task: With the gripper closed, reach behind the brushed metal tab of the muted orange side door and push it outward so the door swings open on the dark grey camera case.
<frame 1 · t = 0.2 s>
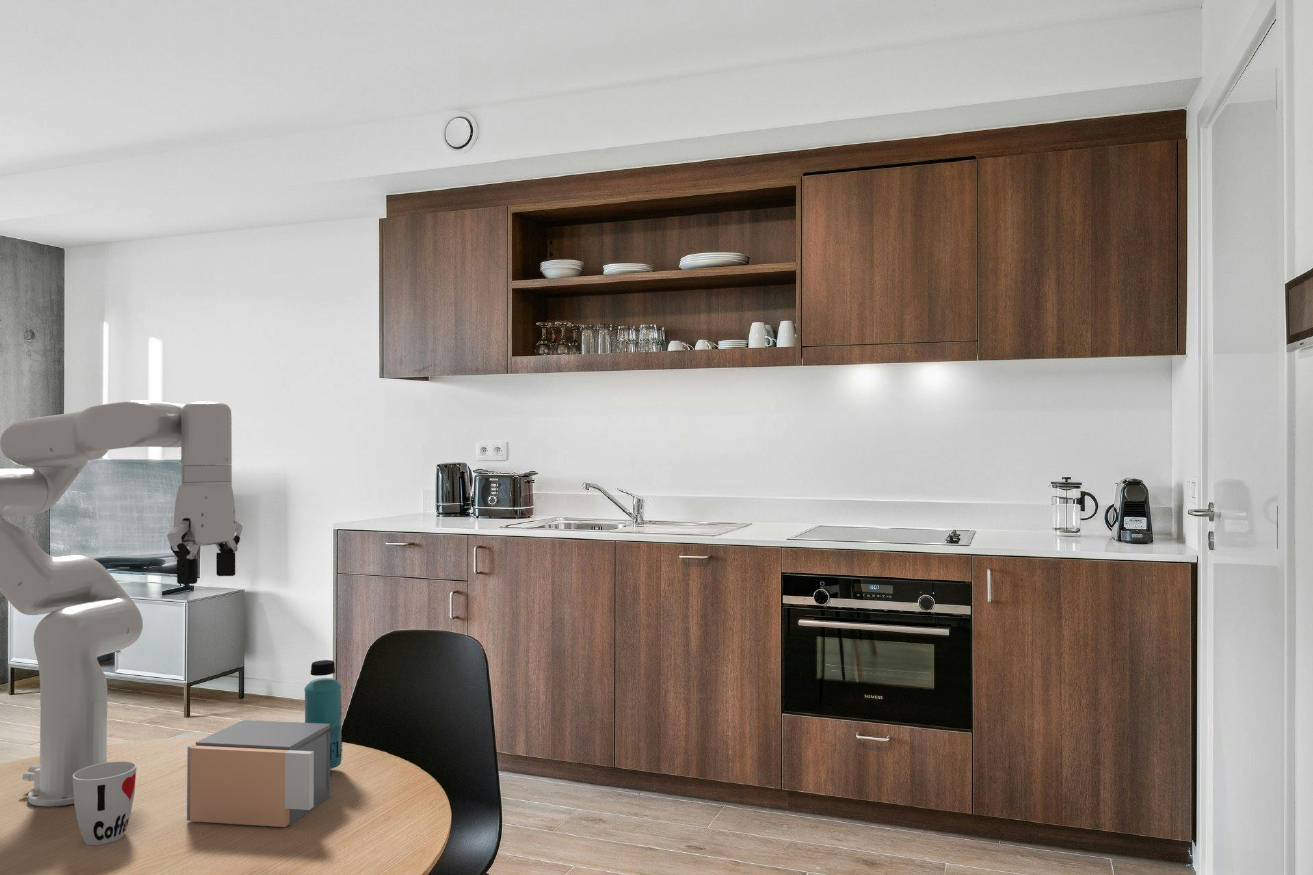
hand: (207, 579, 146), 36 cm above the table, tool pointing down, fingers open, 9 cm apart
camera case: (264, 807, 143), on the table
door: (249, 786, 136), point 6 cm above the table, hinge at 0.0°
beverage bottle: (322, 774, 158), on the table
cup: (104, 838, 132), on the table
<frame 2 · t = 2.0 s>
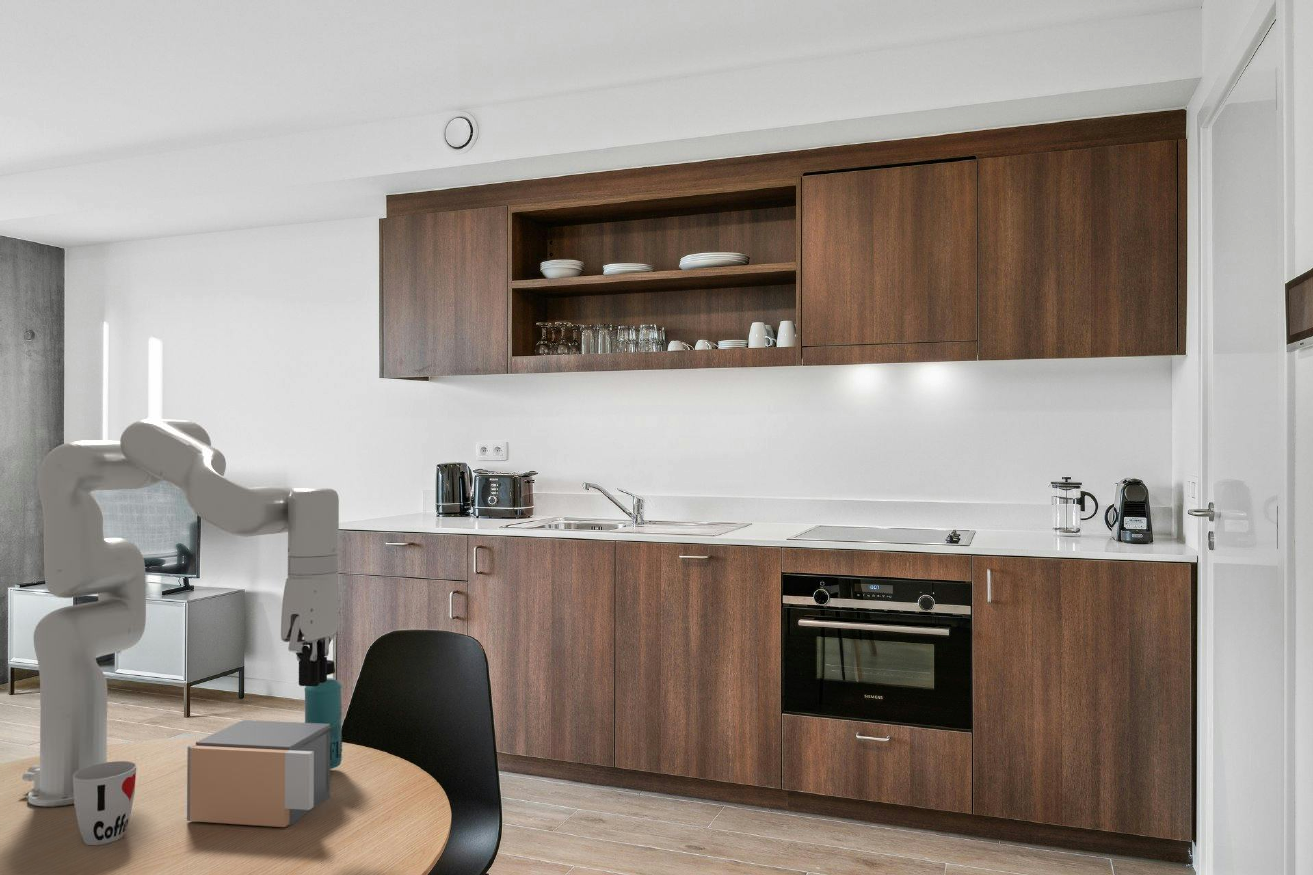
hand: (312, 683, 139), 21 cm above the table, tool pointing down, fingers closed
nothing on the table moved.
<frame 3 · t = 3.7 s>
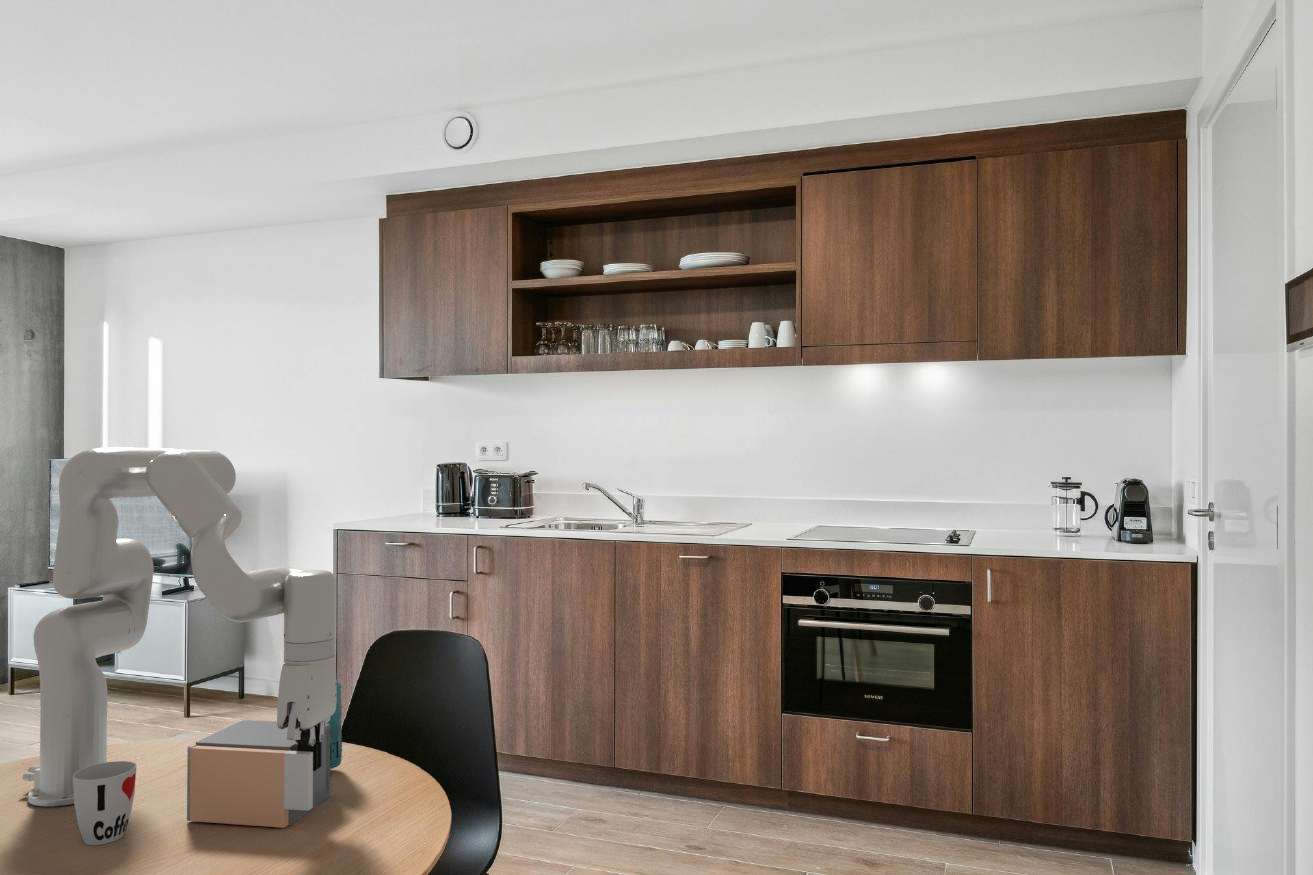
hand: (309, 768, 137), 8 cm above the table, tool pointing down, fingers closed
door: (248, 786, 136), point 6 cm above the table, hinge at 0.7°, touching gripper
everything else where it was.
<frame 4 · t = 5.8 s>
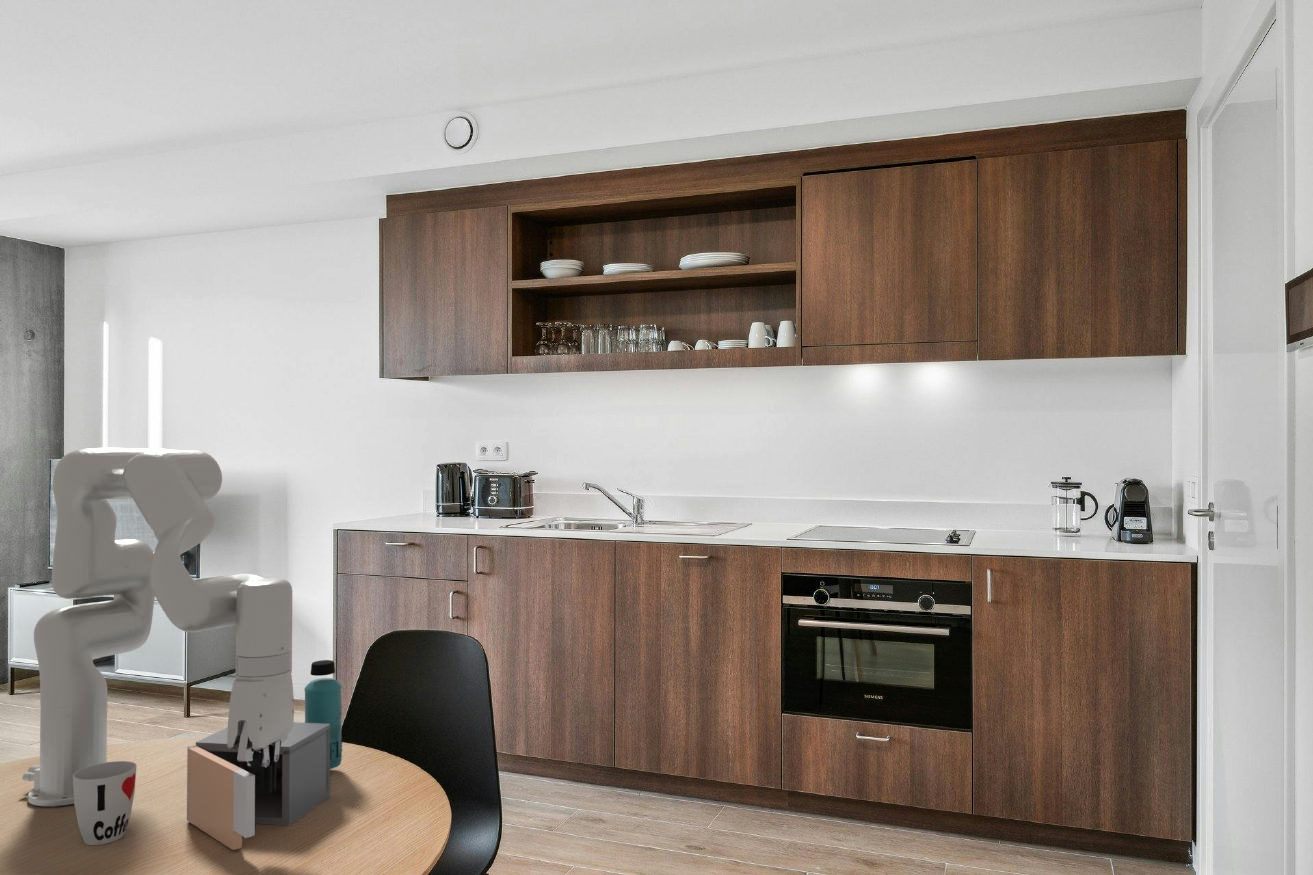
hand: (263, 791, 128), 8 cm above the table, tool pointing down, fingers closed
door: (218, 798, 131), point 6 cm above the table, hinge at 31.9°, touching gripper
everything else where it was.
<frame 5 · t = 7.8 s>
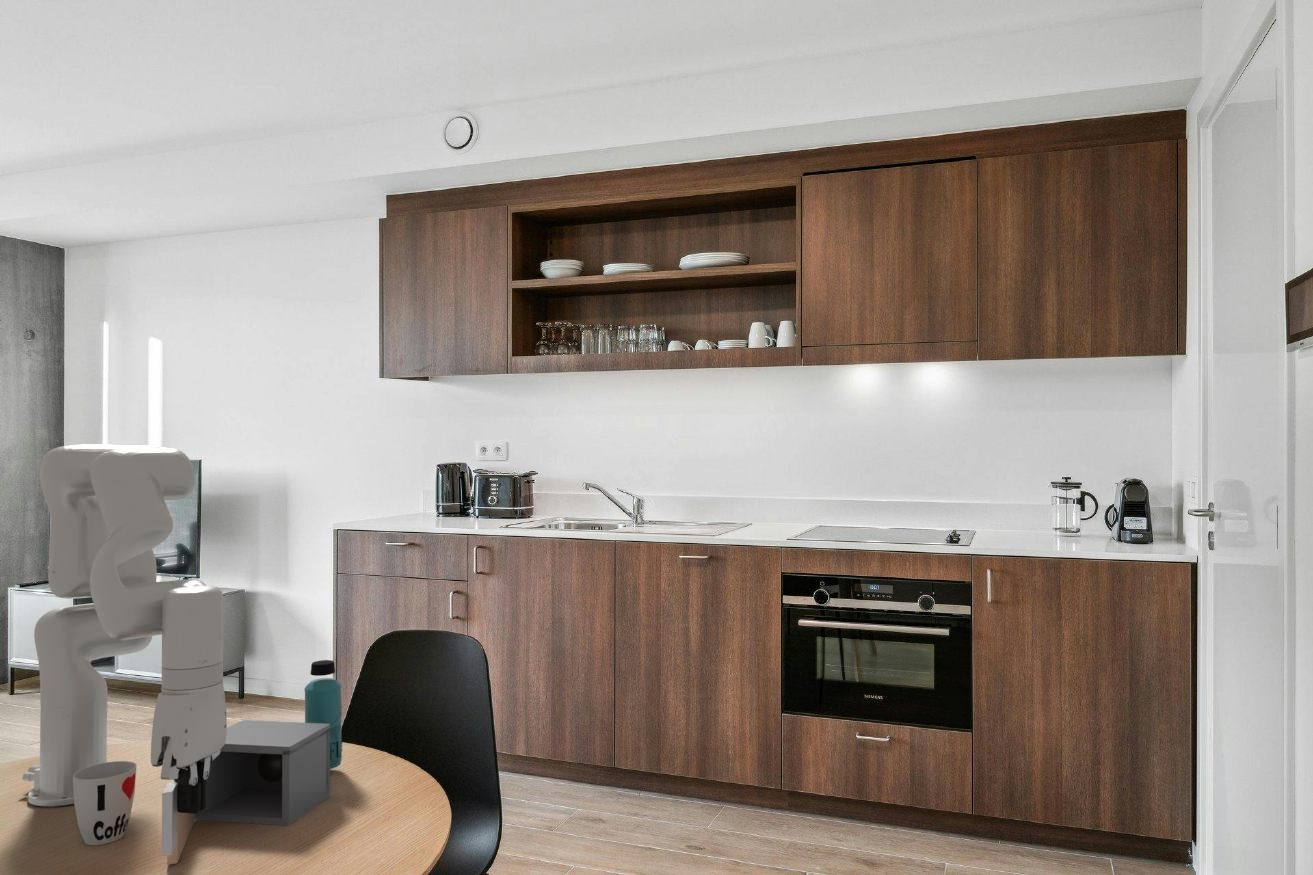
hand: (191, 810, 122), 8 cm above the table, tool pointing down, fingers closed
door: (180, 805, 128), point 6 cm above the table, hinge at 61.4°, touching gripper
everything else where it was.
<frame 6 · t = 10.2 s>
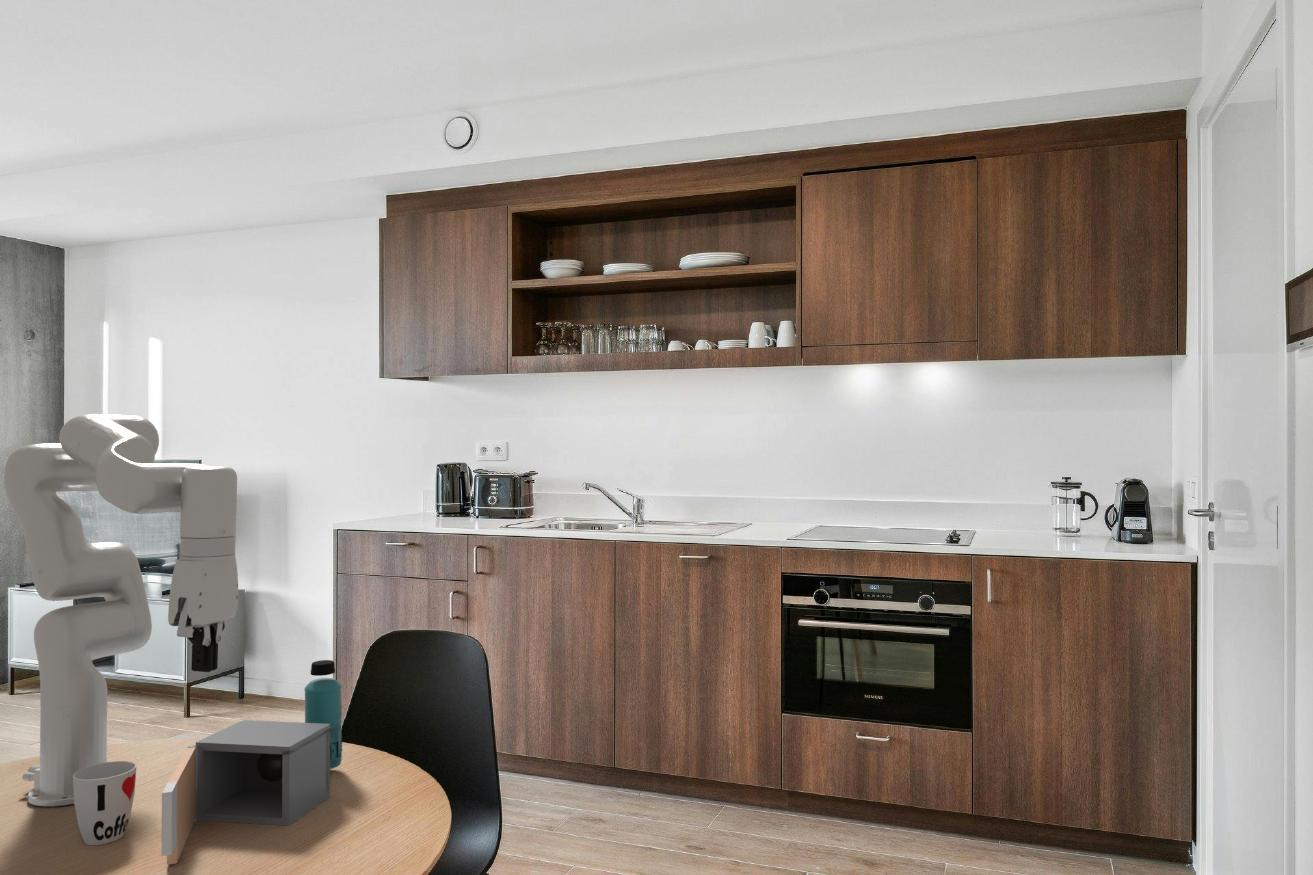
hand: (204, 669, 133), 25 cm above the table, tool pointing down, fingers closed
door: (180, 805, 128), point 6 cm above the table, hinge at 61.5°
everything else where it was.
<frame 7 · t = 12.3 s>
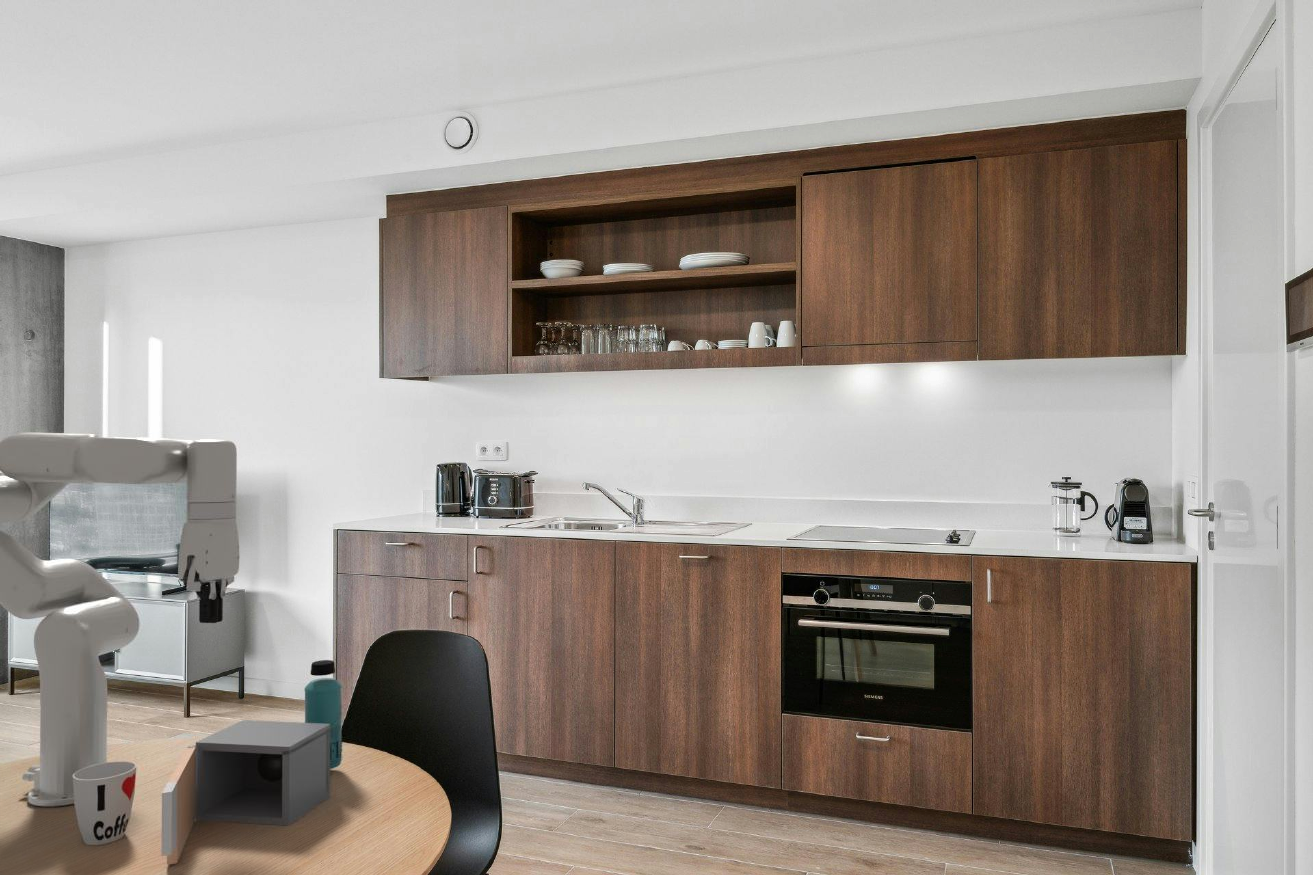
hand: (210, 621, 148), 29 cm above the table, tool pointing down, fingers closed
nothing on the table moved.
at the end: door at +62° (first picture: +0°) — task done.
